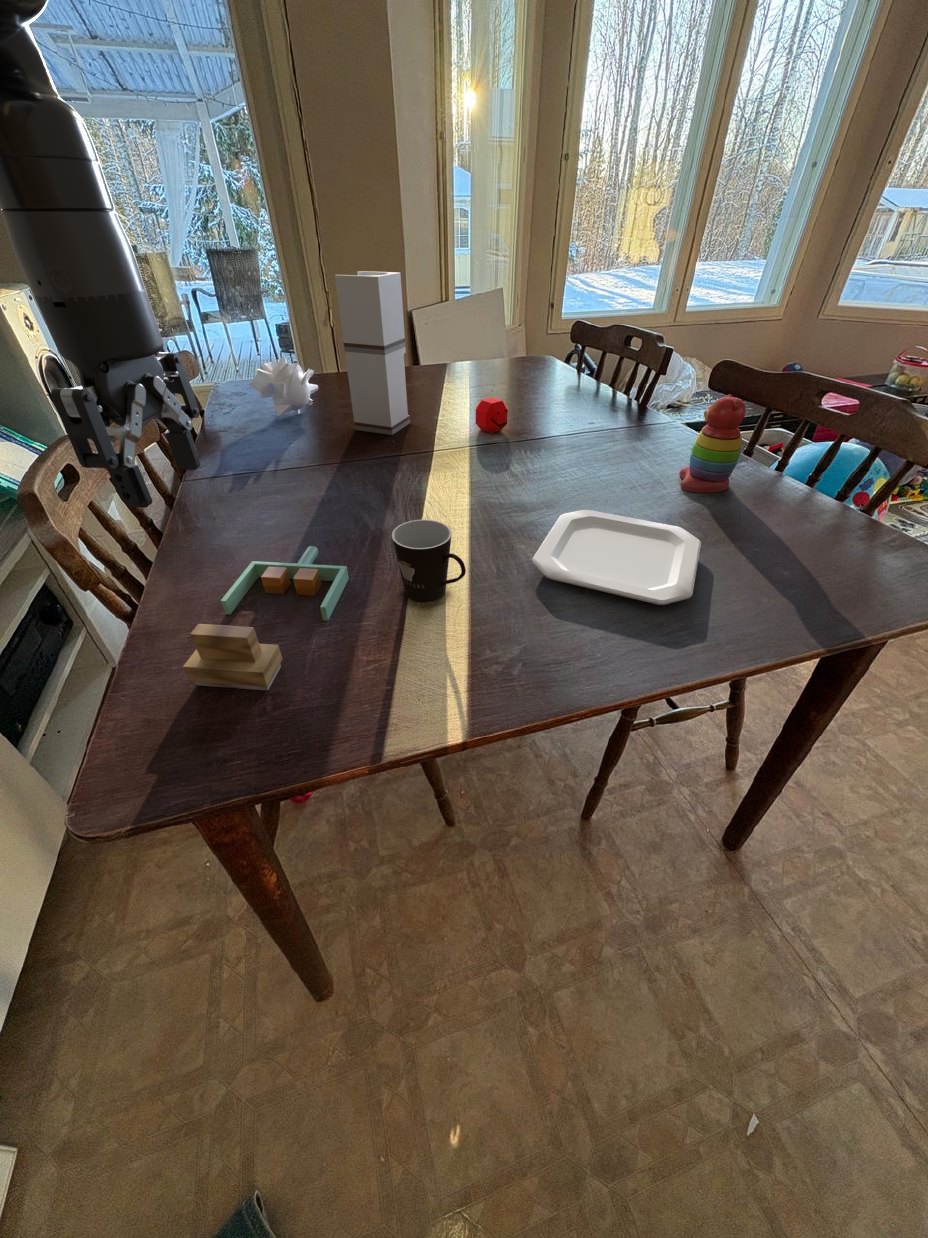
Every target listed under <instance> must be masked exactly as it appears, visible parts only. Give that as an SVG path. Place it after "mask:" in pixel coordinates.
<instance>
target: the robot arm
mask: <svg viewBox="0 0 928 1238" xmlns="http://www.w3.org/2000/svg"><path fill="white" fill-rule="evenodd" d="M48 2H49V0H0V210H1V211H0V214H1V217H2V219H3V222H4V225H5V227H6V231H7V233H8V234H7V235H8V237H9V241H10V244H11V247H12V249H13V252H14V255H15V257H16V260H17V262H18V264H19V266H20V269H21V271H22V273H23V276H24V277H25V280H26V282H27V284H28V287H29V289H30V290H31V291H30V292H31V294H32V296H33V297H34V300H35V302H36V304H37V306H38V308H39V311H40V314H41V316H42V317H43V320H44V322H45V324H46V326H47V329H48V331H49V333H50V335H51V337H52V340H53V342H54V344H55V347H56V349H57V351H58V354H59V355H60V356H61V357H62V358H63V359H65V360H67V361H69V362H70V363H72V364H73V365H74V366H75V368H76V369H77V371H78V374H79V379H80V381H79V382H80V385H79V386H75V387H61V388H60V387H58V388H57V387H55V388H52V389H51V392H50V398H51V400H52V402H53V405H54V407H55V409H56V413H57V414H58V417H59V418H60V421H61V423H62V426H63V428H64V430H65V433H66V435H67V437H68V439H69V442H70V444H71V447H72V449H73V451H74V454H75V455H76V459H77V461H78V463H79V464H80V466H81V467H83V468H85V469H104V470H106V471H107V472H108V474H109V476H110V478H111V481H112V483H113V485H114V487H115V490H116V492H117V494H118V496H119V498H120V500H121V501H122V502H123V503H124V504H125V505H126V506H127V507H130V508H138V509H139V508H140V509H141V508H142V509H147V508H149V506H151V505H152V504H153V499H152V496H151V492H150V491H149V489H148V486H147V484H146V481H145V479H144V476H143V474H142V471H141V469H140V467H139V465H138V464H136V463H135V462H136V444H137V443H138V442H139V441H141V439H142V435H143V434H142V433H143V432H142V431H143V427H145V426H147V425H148V424H149V423H150V421H152V420H155V422H157V423H158V424H159V425H160V426H161V427H162V428H163V429H164V430H167V431H166V432H164V436H165V439H166V440H167V443H168V446H169V449H170V451H171V455H172V457H173V460H174V463H175V465H176V467H177V468H178V470H179V469H180V470H183V471H184V470H185V471H196V470H198V468H200V467H201V461H200V459H199V453H198V451H197V447H196V445H195V441H194V439H193V435H192V433H191V431H192V430H193V419H198V418H199V417H200V413H201V412H200V409H199V406H198V403H197V400H196V397H195V395H194V391H193V388H192V387H191V383H190V380H189V377H188V374H187V372H186V369H185V366H184V362H183V360H182V357H181V355H180V354H179V353H178V352H162V350H163V349H164V340H163V336H162V334H161V331H160V327H159V324H158V321H157V319H156V316H155V313H154V310H153V307H152V304H151V301H150V298H149V295H148V292H147V289H146V286H145V283H144V280H143V277H142V274H141V271H140V268H139V264H138V262H137V258H136V255H135V253H134V249H133V247H132V245H131V242H130V240H129V237H128V236H127V234H126V231H125V229H124V227H123V224H122V222H121V220H120V217H119V214H118V212H117V211H116V210H115V209H116V207H115V204H114V201H113V197H112V195H111V192H110V189H109V186H108V183H107V180H106V177H105V174H104V171H103V168H102V165H101V162H100V158H99V156H98V153H97V150H96V147H95V144H94V141H93V139H92V137H91V135H90V132H89V130H88V128H87V125H86V124H85V121H84V120H83V118H82V116H80V114H79V113H78V111H77V110H76V109H75V108H74V107H73V106H72V105H71V104H69V103H68V102H66V101H65V100H63V98H62V97H61V96H60V95H59V93H58V91H57V88H56V86H55V83H54V81H53V79H52V76H51V73H50V71H49V69H48V66H47V64H46V62H45V59H44V57H43V54H42V52H41V49H40V47H39V45H38V43H37V40H36V37H35V35H34V32H33V28H32V26H31V23H32V22H34V21H35V20H36V19H38V17H40V16H41V14H42V13H43V12H44V11H45V10H46V7H47V4H48ZM177 394H178V395H180V396H181V397H182V399H183V400H182V401H183V402H184V404H182V403H181V401H180V400H178V398H177V396H176V395H177ZM111 421H112V422H113V423H114V424H115V425H117V426H111ZM89 440H91V441H92V442H93V445H94V447H95V449H96V451H93V450H92V447H91V444H90V442H89ZM116 441H119V451H118V452H116V450H115V442H116Z"/></svg>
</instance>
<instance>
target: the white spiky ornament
mask: <svg viewBox="0 0 928 1238" xmlns="http://www.w3.org/2000/svg"><path fill="white" fill-rule="evenodd" d="M314 373H315V371H314V370H313V369H311V368H308V369H307V371H305V372H304V371H303V369H302V367H301V365H299V363H296V362H293V363H288V361H287V359H286V355H282V357H281V358H280V360H279V361H273V360H271V361H269V362H263V363H262V364H261V366H260V368H257V370H256V375H255V376H254V377H253V379H252V380H251V382H249V386H250V387H252V388H253V389H254V390H255V391H257V392H258V393H260V396H259V399H263V398H264V399H267V398H271V399H272V404H273V408H274V412H275V414H276V415H277V417H281V416H282V415H283V416H284V415H285V414H287V413H289V412H291V411H294V412H295V415H299V414H301V411H300V409H303V408H304V407H305V406H306V405H309V406H312V405H313V403H314V402H312V401H314V400H313V399H311V395H312V394H314V393H316V392H317V391H319V385H318V384H314V383H309V381H310V379H311V378H312V377H313V376H314ZM309 402H311V403H309ZM307 403H308V404H307Z"/></svg>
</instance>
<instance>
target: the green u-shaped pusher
mask: <svg viewBox="0 0 928 1238" xmlns="http://www.w3.org/2000/svg"><path fill="white" fill-rule="evenodd" d="M319 554H320V553H319V549H318V548H317V547H316V546H314V545H309V546H307V548H306V549H305V551H304V552H303V554H302V555H301V557H300V559H298V562H297V563H293V562H292V563H291V562H277V561H275V562H273V561H255V560H252V561H251V562H250V563H249V564H248V565H247V567H246V568H245V569H244V570H243V572H242V573H241V574H240V576H239V577H238V578H237V579H236V580H235V582H234V583H233V585H231V586H230V588H229V590H228V591H227V592H226V593H225V594H224V596H223V597H222V598H221V599H220V604H221V606H222V609H223V611H224V615H232V613H233V612H234V611H235V609H236V608H237V606H238V605H239V604H240V602H241V601H242V600H243V599H244V597H245V596H246V594H247V593H249V590H250V589H251V588H252V586H253V585H254V584H255V583H256V581H257V580H258V578H261V576H262V575H263V574H264V572H265V571H266V570H267V568H268V567H284V568H287V570H288V574H289V578H290V580H293V578H294V577H295V575H296V574H297V572H298V571H299V569H300V568H306V569H319V574H320V578H321V581H327V582H329V581H330V582H332V584H331V585H330V588H329V589H328V591H327V593H326V595H325V596H324V598H323V601H322V602H321V605H320V606H319V607H320V613H321V617H322V621H329V620H330V618H331V616H332V614H333V612H334V610H335V608H336V606H337V604H338V602H339V600H340V598H341V596H342V594H343V592H344V589H345V588H346V586H347V583H348V582H349V580H350V579H349V578H350V577H349V573H348V567H347V566H346V565H329V564H314V562H315V560H316V558H317V557H318V555H319Z"/></svg>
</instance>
